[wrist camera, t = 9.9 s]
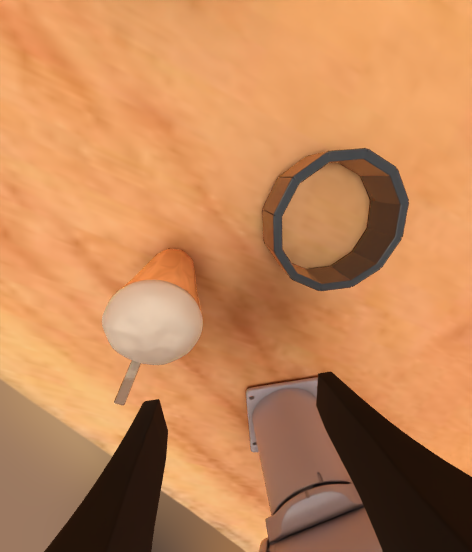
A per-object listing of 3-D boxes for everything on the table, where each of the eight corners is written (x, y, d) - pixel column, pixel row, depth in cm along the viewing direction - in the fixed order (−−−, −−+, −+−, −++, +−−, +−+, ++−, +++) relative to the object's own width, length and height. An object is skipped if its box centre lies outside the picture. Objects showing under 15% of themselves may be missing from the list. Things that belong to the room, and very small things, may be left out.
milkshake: (130, 288, 19) (62, 389, 10) (157, 228, 18) (107, 282, 9) (183, 310, 20) (167, 417, 11) (213, 255, 19) (221, 328, 10)
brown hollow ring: (368, 267, 21) (394, 282, 18) (264, 280, 20) (274, 297, 17) (384, 149, 18) (420, 143, 15) (260, 159, 17) (272, 155, 14)
